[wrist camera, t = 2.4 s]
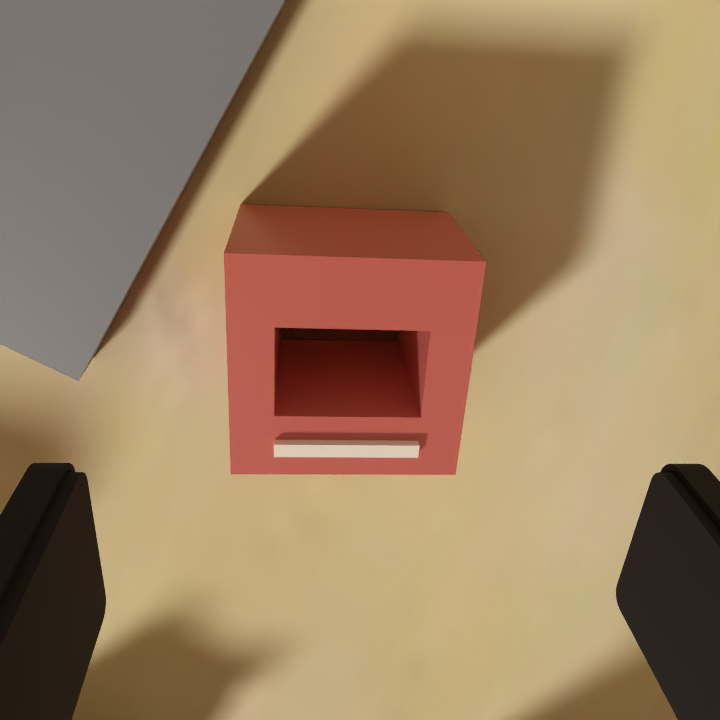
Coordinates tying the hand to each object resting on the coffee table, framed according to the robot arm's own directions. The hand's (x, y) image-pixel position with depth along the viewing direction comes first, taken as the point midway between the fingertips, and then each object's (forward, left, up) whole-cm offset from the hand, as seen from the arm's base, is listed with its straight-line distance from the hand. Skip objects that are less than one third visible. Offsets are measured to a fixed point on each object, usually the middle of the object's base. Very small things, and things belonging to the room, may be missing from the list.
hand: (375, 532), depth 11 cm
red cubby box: (0, +1, -12) cm, 12 cm away
